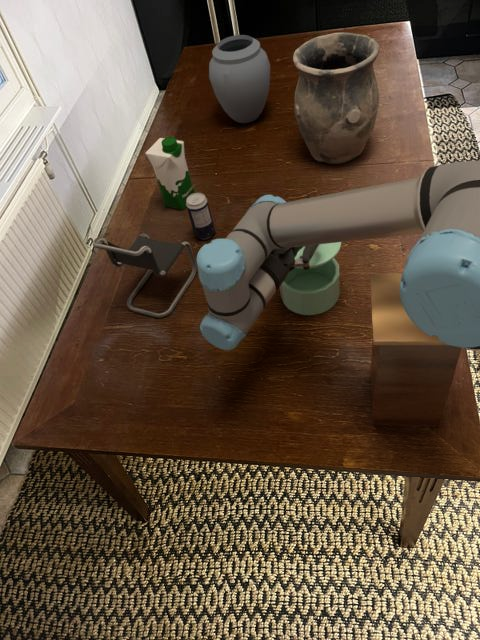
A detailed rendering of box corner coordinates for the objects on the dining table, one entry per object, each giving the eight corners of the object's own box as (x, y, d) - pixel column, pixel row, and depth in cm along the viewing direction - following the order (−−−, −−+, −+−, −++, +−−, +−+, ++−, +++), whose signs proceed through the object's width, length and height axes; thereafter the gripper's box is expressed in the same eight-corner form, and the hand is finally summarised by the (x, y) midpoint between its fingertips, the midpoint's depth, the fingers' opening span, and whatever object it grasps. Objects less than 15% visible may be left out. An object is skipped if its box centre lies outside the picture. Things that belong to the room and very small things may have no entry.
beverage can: (219, 229, 143) (210, 193, 134) (209, 242, 140) (200, 207, 131) (200, 225, 146) (191, 190, 136) (191, 239, 143) (180, 204, 133)
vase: (209, 116, 182) (193, 43, 164) (258, 96, 186) (248, 22, 167) (233, 140, 170) (220, 65, 151) (286, 118, 174) (279, 42, 155)
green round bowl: (339, 315, 118) (339, 292, 113) (279, 315, 121) (275, 293, 115) (339, 271, 127) (339, 248, 121) (283, 272, 129) (280, 250, 124)
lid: (341, 269, 106) (341, 233, 99) (269, 271, 109) (264, 236, 102) (341, 222, 115) (340, 185, 108) (275, 224, 118) (270, 189, 111)
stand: (445, 432, 97) (473, 341, 76) (367, 429, 100) (373, 341, 79) (436, 368, 106) (459, 271, 84) (365, 368, 109) (369, 273, 87)
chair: (121, 310, 130) (88, 244, 113) (156, 261, 139) (130, 194, 122) (166, 321, 125) (139, 254, 108) (199, 271, 134) (178, 202, 117)
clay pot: (302, 131, 167) (295, 32, 144) (377, 128, 162) (382, 25, 139) (294, 174, 154) (284, 73, 131) (375, 172, 148) (380, 67, 126)
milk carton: (185, 213, 150) (167, 152, 135) (159, 207, 154) (139, 147, 138) (200, 194, 155) (184, 133, 139) (175, 189, 158) (157, 128, 143)
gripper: (228, 281, 105) (285, 209, 116) (299, 305, 98) (352, 227, 109) (221, 253, 99) (281, 181, 110) (296, 277, 92) (352, 197, 103)
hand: (316, 204), depth 110 cm, fingers closed on lid, 3 cm apart
